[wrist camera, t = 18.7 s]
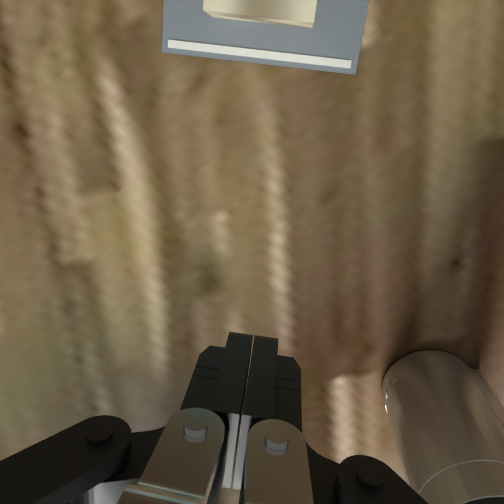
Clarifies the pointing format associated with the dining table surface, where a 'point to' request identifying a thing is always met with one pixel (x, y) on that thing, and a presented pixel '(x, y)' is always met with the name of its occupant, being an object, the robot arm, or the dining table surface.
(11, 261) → the dining table surface
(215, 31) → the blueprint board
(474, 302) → the dining table surface
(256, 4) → the base block
